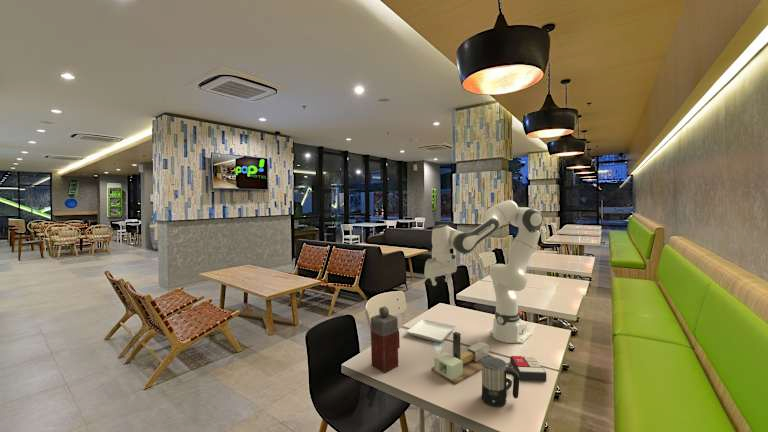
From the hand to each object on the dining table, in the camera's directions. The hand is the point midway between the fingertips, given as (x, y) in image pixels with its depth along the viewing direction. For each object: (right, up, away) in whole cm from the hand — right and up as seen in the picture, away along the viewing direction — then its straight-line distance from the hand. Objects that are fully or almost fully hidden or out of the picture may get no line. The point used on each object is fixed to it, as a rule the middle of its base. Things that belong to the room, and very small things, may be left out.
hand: (440, 283), depth 167 cm
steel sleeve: (+16, -34, -11) cm, 39 cm away
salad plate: (-2, -32, +18) cm, 37 cm away
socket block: (-1, -35, -23) cm, 42 cm away
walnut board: (+8, -34, -16) cm, 39 cm away
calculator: (+35, -35, -22) cm, 54 cm away
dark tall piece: (+6, -32, -18) cm, 37 cm away
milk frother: (+16, -36, -38) cm, 54 cm away
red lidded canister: (-28, -35, -15) cm, 47 cm away
